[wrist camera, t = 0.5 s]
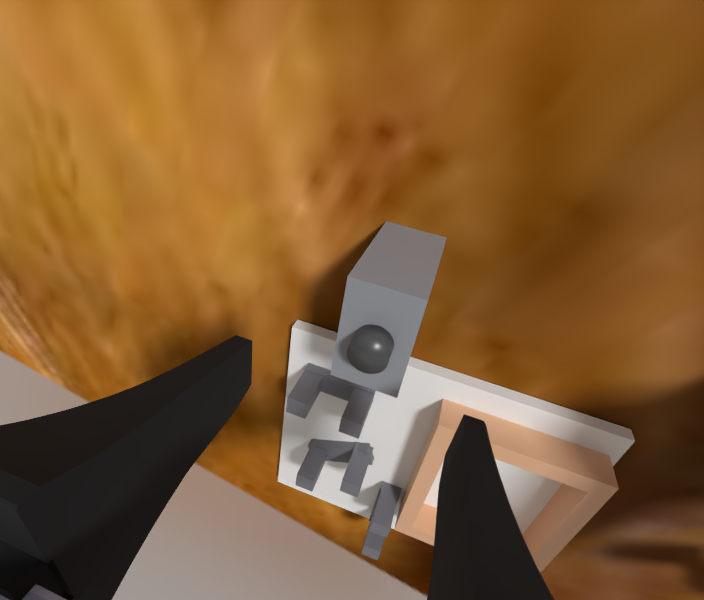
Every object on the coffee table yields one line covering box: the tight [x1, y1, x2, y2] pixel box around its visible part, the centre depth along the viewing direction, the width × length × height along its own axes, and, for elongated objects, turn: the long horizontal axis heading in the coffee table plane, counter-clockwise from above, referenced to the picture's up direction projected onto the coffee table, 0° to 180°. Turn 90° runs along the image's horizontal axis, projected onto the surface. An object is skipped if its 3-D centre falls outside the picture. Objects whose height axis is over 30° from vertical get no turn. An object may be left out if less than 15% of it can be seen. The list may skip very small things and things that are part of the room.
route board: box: [278, 320, 635, 560], centre depth 25 cm, size 19×16×4 cm
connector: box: [330, 221, 447, 398], centre depth 18 cm, size 3×5×7 cm, turn 170°
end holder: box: [394, 399, 619, 572], centre depth 24 cm, size 9×11×2 cm
